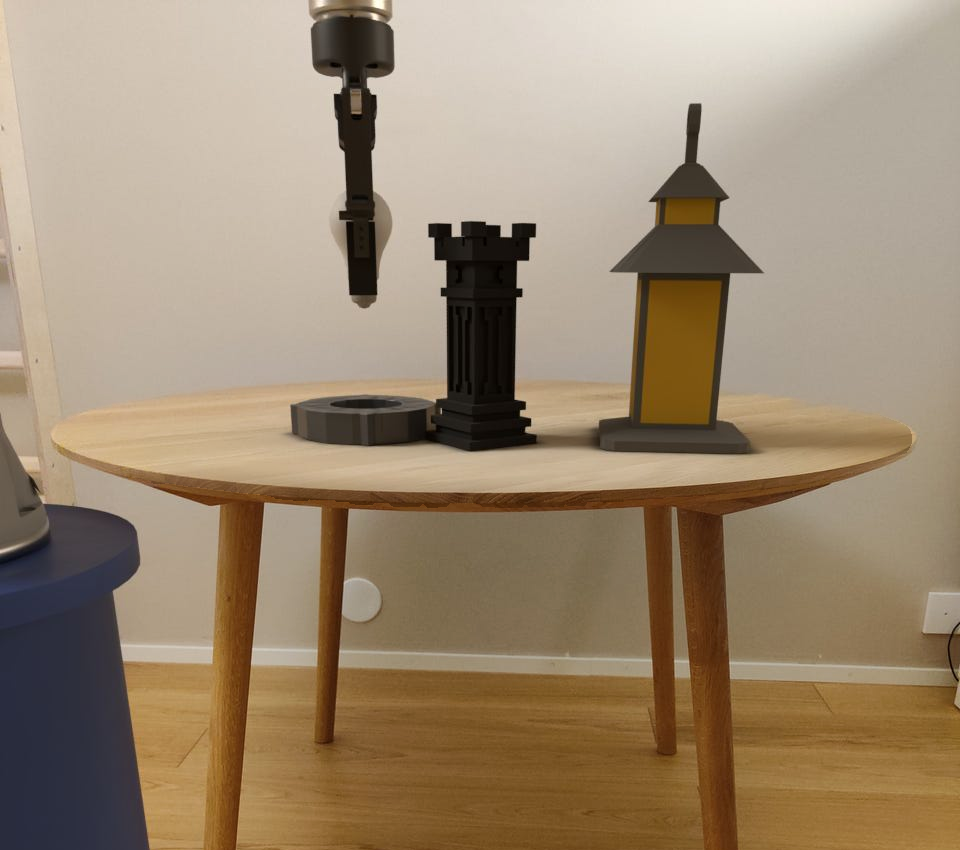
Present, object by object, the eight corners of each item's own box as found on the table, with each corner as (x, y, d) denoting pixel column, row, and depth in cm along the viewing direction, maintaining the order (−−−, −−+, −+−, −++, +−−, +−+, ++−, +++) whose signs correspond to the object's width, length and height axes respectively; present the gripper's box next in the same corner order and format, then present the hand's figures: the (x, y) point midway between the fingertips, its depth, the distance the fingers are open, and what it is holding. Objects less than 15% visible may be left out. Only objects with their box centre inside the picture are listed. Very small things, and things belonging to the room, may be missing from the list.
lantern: (729, 430, 103) (761, 114, 92) (751, 453, 90) (790, 90, 79) (598, 427, 104) (613, 116, 93) (600, 450, 91) (619, 91, 80)
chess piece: (490, 432, 101) (492, 225, 93) (536, 443, 94) (542, 223, 87) (425, 438, 96) (422, 223, 89) (469, 451, 90) (469, 220, 83)
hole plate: (368, 449, 91) (367, 417, 89) (270, 434, 99) (268, 404, 98) (461, 431, 101) (461, 402, 100) (366, 418, 109) (365, 391, 108)
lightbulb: (397, 307, 98) (394, 189, 94) (391, 310, 92) (387, 184, 88) (338, 307, 98) (333, 189, 94) (328, 309, 93) (322, 184, 89)
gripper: (397, -3, 78) (405, 297, 86) (389, 46, 96) (396, 291, 104) (305, -6, 77) (321, 297, 86) (314, 44, 95) (327, 291, 103)
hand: (363, 293), depth 95 cm, fingers closed on lightbulb, 6 cm apart
